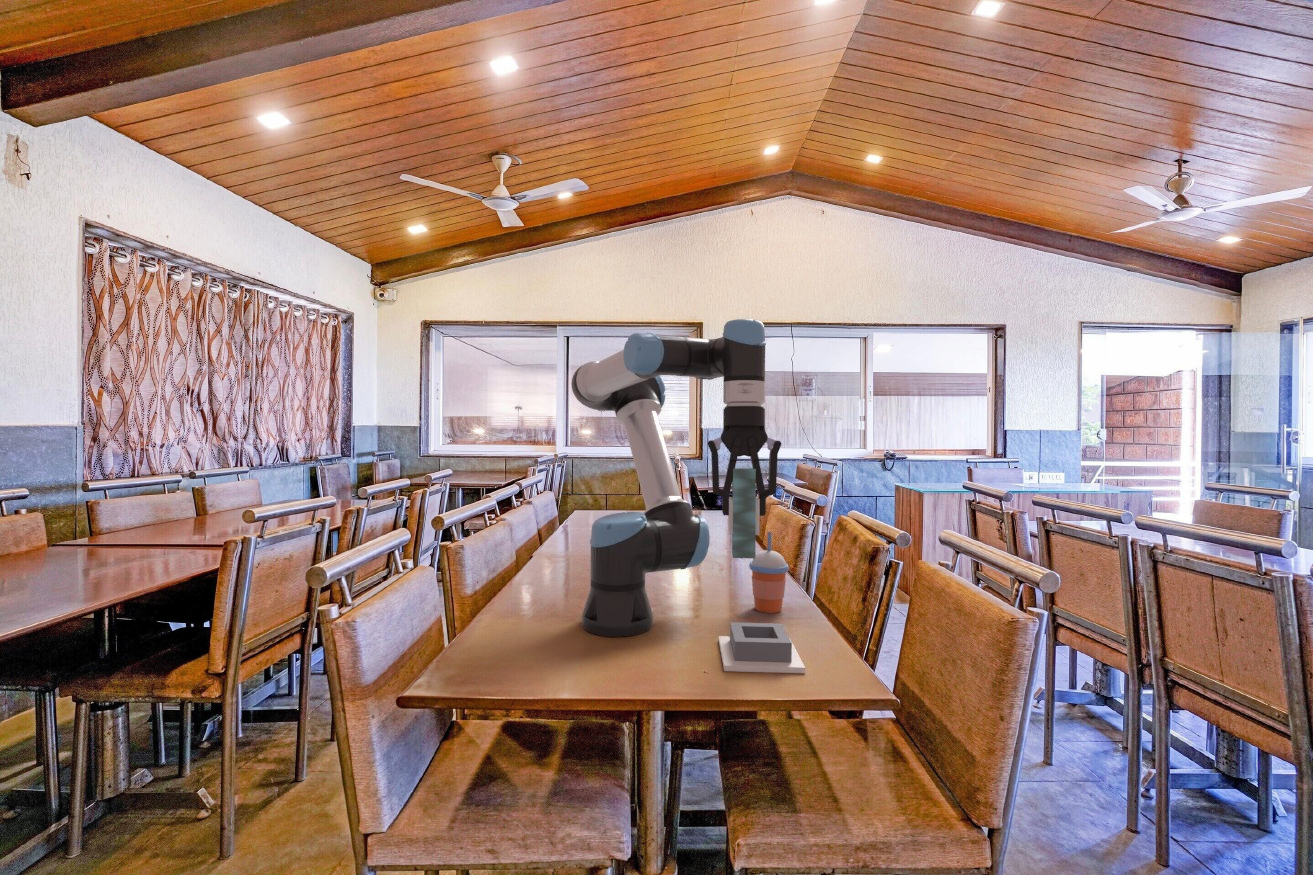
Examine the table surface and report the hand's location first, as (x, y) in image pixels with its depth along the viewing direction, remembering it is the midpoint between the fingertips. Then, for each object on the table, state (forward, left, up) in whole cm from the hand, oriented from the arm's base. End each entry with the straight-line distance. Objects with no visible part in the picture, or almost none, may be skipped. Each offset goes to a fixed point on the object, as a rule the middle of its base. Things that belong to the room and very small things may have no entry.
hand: (743, 533), depth 106 cm
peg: (0, 0, -4) cm, 4 cm away
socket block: (+3, +1, -23) cm, 23 cm away
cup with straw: (+9, +29, -23) cm, 39 cm away
